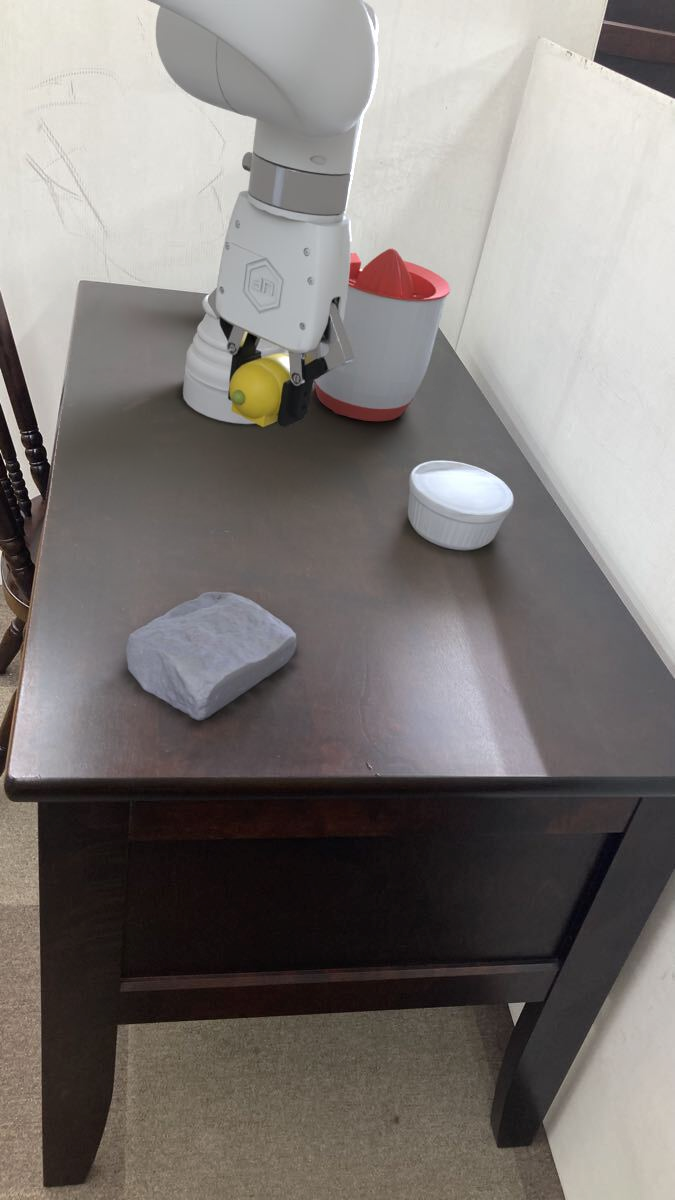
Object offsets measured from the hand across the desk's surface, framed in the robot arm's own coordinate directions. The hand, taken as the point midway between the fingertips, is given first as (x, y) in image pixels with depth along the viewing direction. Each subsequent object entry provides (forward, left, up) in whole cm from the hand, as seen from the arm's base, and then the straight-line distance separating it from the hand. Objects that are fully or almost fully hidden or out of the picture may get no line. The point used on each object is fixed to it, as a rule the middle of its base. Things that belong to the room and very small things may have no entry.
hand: (266, 407), depth 77 cm
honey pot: (+9, +31, -15) cm, 36 cm away
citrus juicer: (+26, +30, -15) cm, 43 cm away
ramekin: (+23, 0, -15) cm, 28 cm away
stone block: (-9, -15, -15) cm, 23 cm away
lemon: (0, 0, 0) cm, 0 cm away
